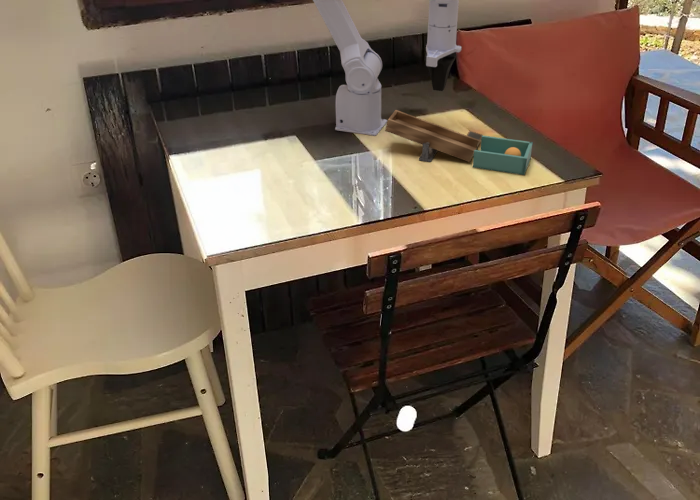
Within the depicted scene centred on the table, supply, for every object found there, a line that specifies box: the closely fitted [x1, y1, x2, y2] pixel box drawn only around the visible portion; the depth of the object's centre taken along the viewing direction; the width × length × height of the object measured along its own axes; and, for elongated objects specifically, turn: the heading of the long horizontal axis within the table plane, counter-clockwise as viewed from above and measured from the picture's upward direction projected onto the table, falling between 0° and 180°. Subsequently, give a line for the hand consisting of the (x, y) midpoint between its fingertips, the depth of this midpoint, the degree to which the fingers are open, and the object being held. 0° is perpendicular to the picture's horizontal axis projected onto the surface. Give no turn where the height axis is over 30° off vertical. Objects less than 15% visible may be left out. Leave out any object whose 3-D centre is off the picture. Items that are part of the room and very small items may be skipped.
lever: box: [384, 109, 483, 163], centre depth 146 cm, size 18×12×3 cm, turn 70°
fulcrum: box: [418, 143, 439, 163], centre depth 145 cm, size 2×8×4 cm, turn 159°
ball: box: [505, 147, 521, 156], centre depth 140 cm, size 3×3×3 cm
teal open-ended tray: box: [472, 134, 534, 176], centre depth 141 cm, size 10×8×4 cm
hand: (438, 89), depth 150 cm, fingers closed
